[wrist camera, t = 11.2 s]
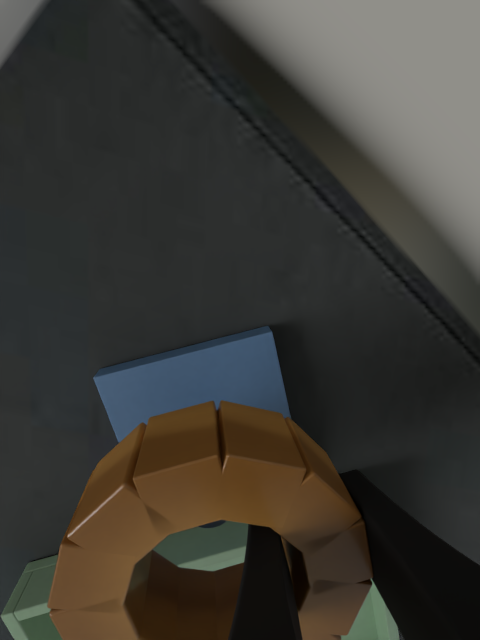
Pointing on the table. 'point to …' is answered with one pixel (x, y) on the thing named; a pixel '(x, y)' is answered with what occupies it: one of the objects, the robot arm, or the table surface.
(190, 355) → the post
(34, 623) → the tray
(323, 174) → the table surface
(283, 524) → the ring
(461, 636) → the robot arm
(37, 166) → the table surface
